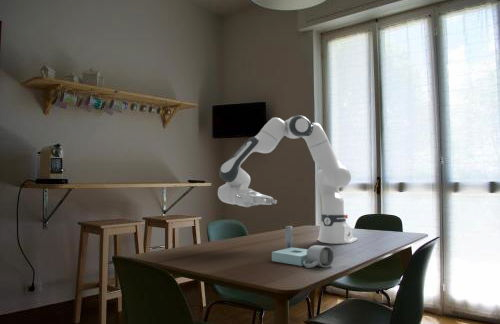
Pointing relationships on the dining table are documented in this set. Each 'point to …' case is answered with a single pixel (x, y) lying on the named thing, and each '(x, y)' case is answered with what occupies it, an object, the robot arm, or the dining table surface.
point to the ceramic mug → (319, 256)
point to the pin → (289, 237)
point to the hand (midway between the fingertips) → (270, 201)
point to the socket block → (290, 256)
